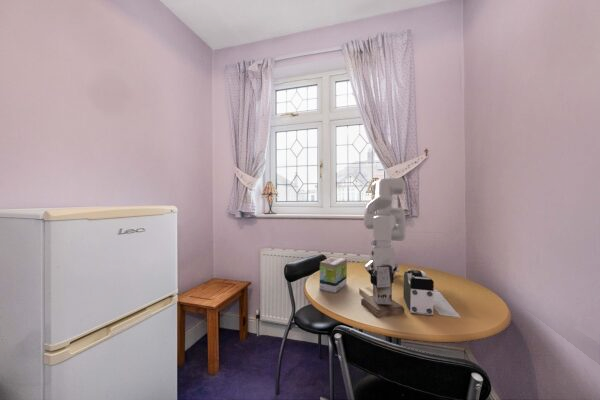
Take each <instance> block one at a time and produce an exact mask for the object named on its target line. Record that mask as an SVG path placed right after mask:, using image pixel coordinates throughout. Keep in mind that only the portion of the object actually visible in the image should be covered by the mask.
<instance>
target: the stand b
mask: <svg viewBox="0 0 600 400" xmlns="http://www.w3.org/2000/svg"><path fill="white" fill-rule="evenodd" d="M360 301H361V306H363V307H364V308H365V309H366V310H367V311H368V312H370V313H371V314H372V315H374V317H376V318H377V319H380V318H385V317H387V318H388V317H393V316H398V315H404V314H405V307H403V306H404V305H401V304H400V303H398V302H396V301H395V300H393V299H392V304H391V305H390V304H377V302H376V300H375V298H374V297H368V298H365V297H363V298H361V299H360ZM392 315H393V316H392Z"/></svg>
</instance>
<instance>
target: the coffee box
mask: <svg viewBox="0 0 600 400" xmlns="http://www.w3.org/2000/svg"><path fill="white" fill-rule="evenodd" d="M375 276H376V285H373V284H372V287H373V297H374V298H375V300H376V302H377V304H390V305H391V304H392V300H393V297H392V296H393V283H392V266H391V265H385V266H377V271H376V274H375Z"/></svg>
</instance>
